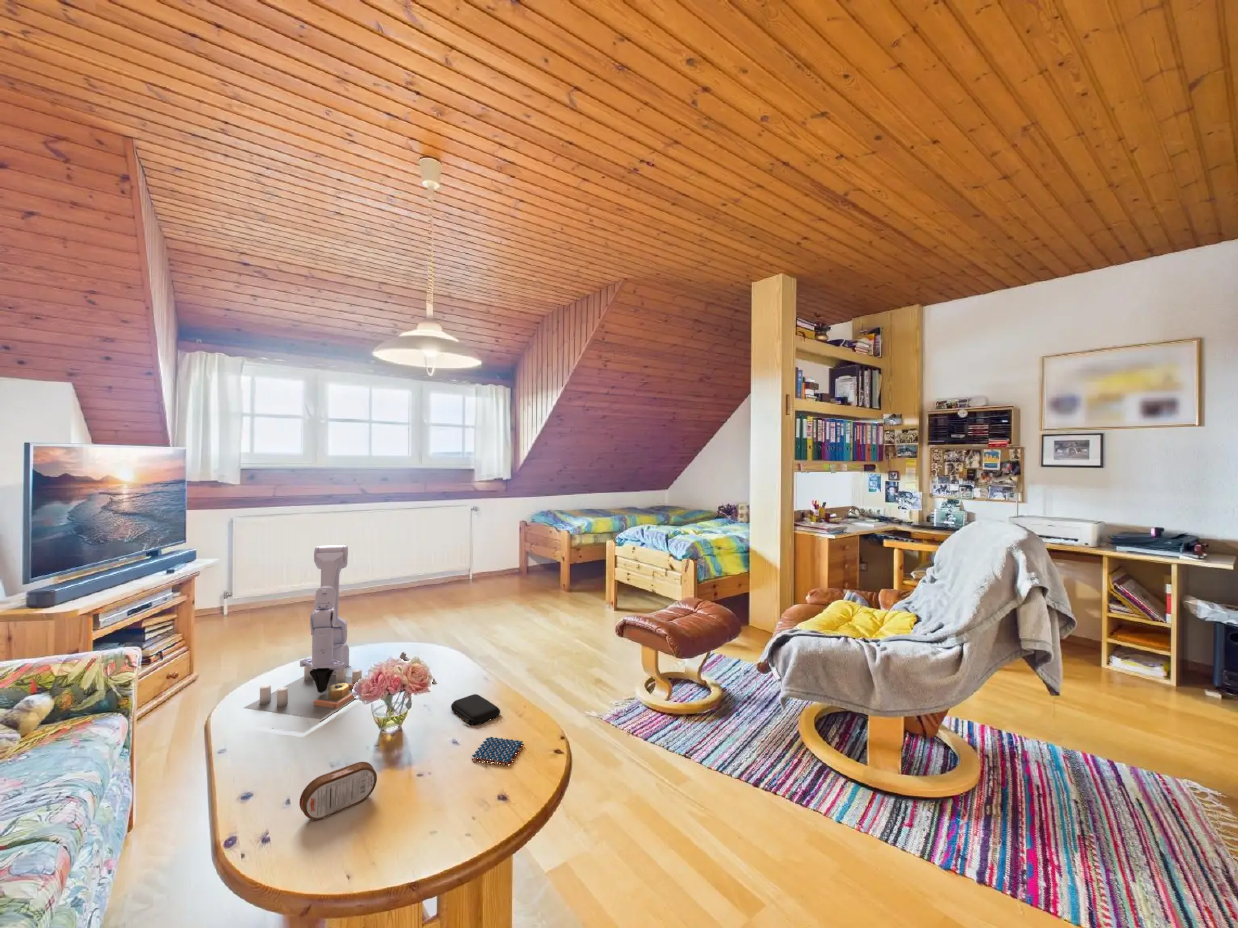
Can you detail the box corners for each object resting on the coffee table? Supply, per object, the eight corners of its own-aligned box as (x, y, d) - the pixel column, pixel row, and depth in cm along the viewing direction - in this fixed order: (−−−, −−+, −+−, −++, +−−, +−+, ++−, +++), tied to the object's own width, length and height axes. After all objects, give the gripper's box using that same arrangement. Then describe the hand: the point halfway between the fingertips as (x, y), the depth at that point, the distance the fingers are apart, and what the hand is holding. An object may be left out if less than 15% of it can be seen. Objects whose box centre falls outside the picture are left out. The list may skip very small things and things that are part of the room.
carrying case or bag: (444, 711, 160) (470, 730, 150) (445, 701, 160) (470, 719, 150) (476, 700, 168) (503, 717, 157) (476, 690, 168) (503, 707, 157)
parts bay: (344, 686, 172) (344, 682, 172) (366, 689, 171) (366, 685, 171) (313, 704, 160) (313, 700, 160) (336, 708, 158) (337, 704, 158)
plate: (311, 675, 182) (311, 659, 182) (379, 683, 177) (379, 667, 177) (243, 710, 157) (243, 692, 157) (320, 722, 152) (320, 703, 151)
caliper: (398, 669, 190) (399, 651, 189) (401, 668, 190) (401, 650, 190) (434, 684, 178) (434, 666, 178) (437, 683, 179) (437, 665, 179)
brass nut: (338, 691, 169) (338, 681, 169) (352, 693, 168) (352, 683, 168) (324, 699, 163) (324, 689, 163) (338, 701, 162) (338, 691, 162)
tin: (373, 790, 122) (373, 754, 122) (378, 797, 120) (379, 760, 120) (298, 821, 112) (299, 781, 111) (303, 829, 109) (303, 788, 109)
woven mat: (510, 769, 132) (510, 761, 132) (470, 764, 134) (470, 756, 134) (525, 747, 143) (525, 739, 142) (488, 742, 144) (488, 734, 144)
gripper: (292, 650, 164) (291, 694, 164) (333, 654, 161) (333, 699, 161) (309, 642, 171) (309, 684, 171) (350, 646, 168) (349, 689, 168)
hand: (322, 691), depth 167 cm, fingers closed
